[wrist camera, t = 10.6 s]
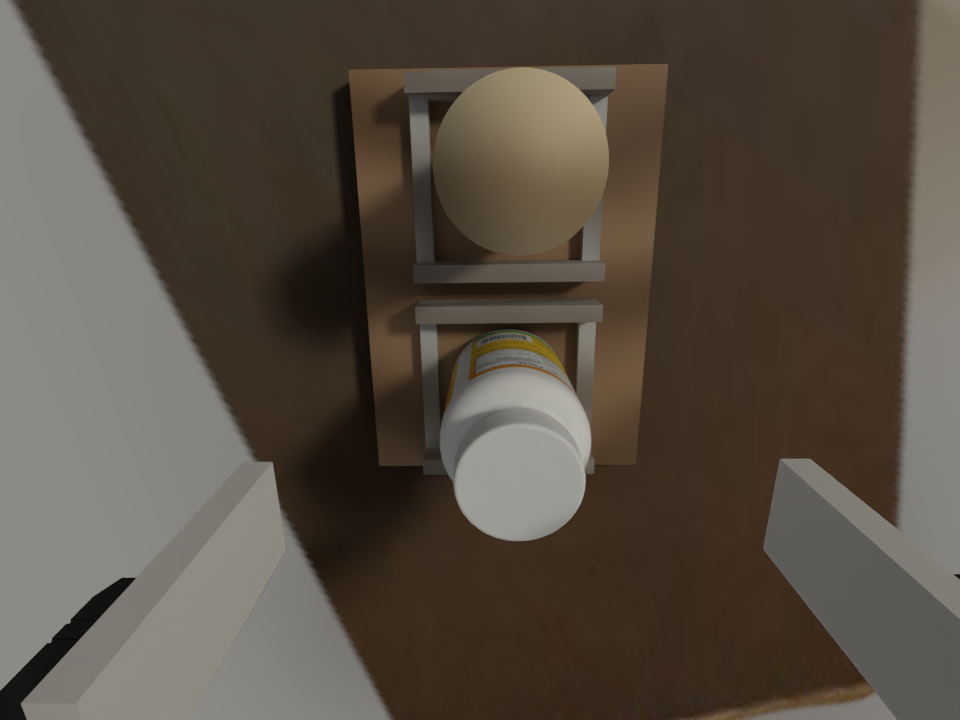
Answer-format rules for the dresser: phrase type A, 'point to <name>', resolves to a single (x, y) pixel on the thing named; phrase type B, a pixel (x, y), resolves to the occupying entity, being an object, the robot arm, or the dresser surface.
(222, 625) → the robot arm
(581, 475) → the supplement bottle
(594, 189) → the beech dowel
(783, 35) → the dresser surface
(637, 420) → the board
